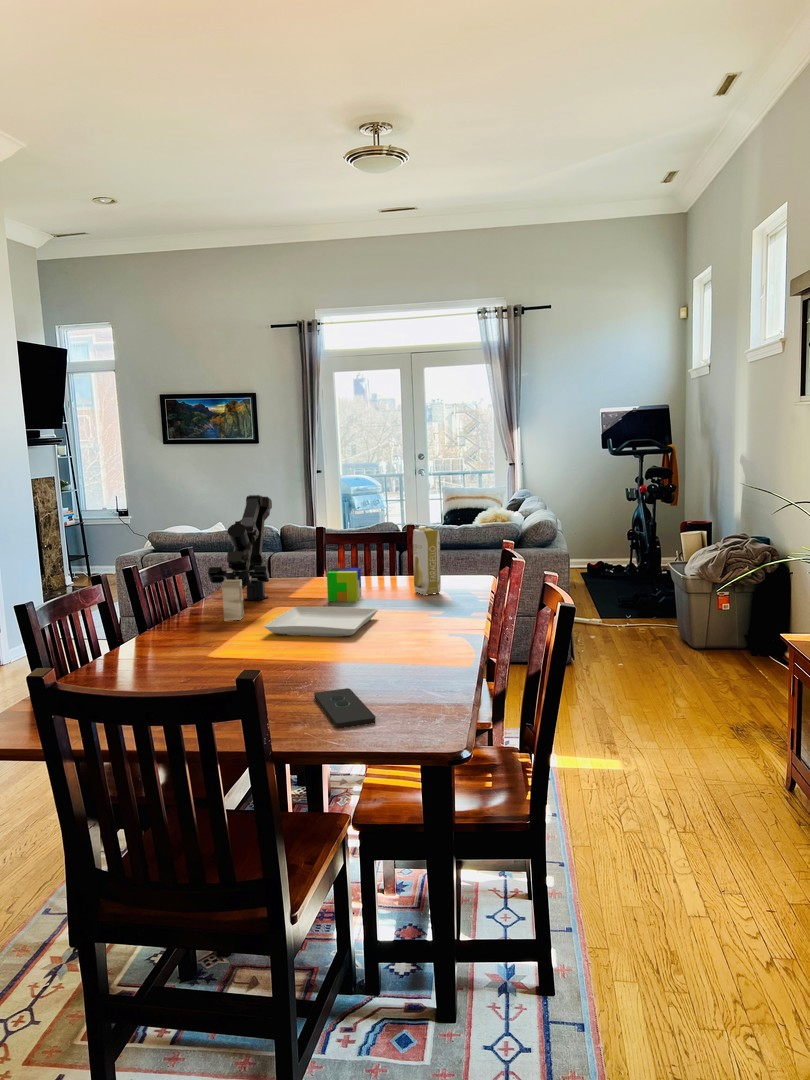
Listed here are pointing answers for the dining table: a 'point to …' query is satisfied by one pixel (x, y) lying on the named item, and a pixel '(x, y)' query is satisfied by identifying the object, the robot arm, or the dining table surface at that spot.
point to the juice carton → (426, 560)
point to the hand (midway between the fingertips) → (235, 596)
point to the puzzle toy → (344, 584)
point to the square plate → (321, 621)
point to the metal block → (232, 600)
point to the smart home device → (344, 708)
